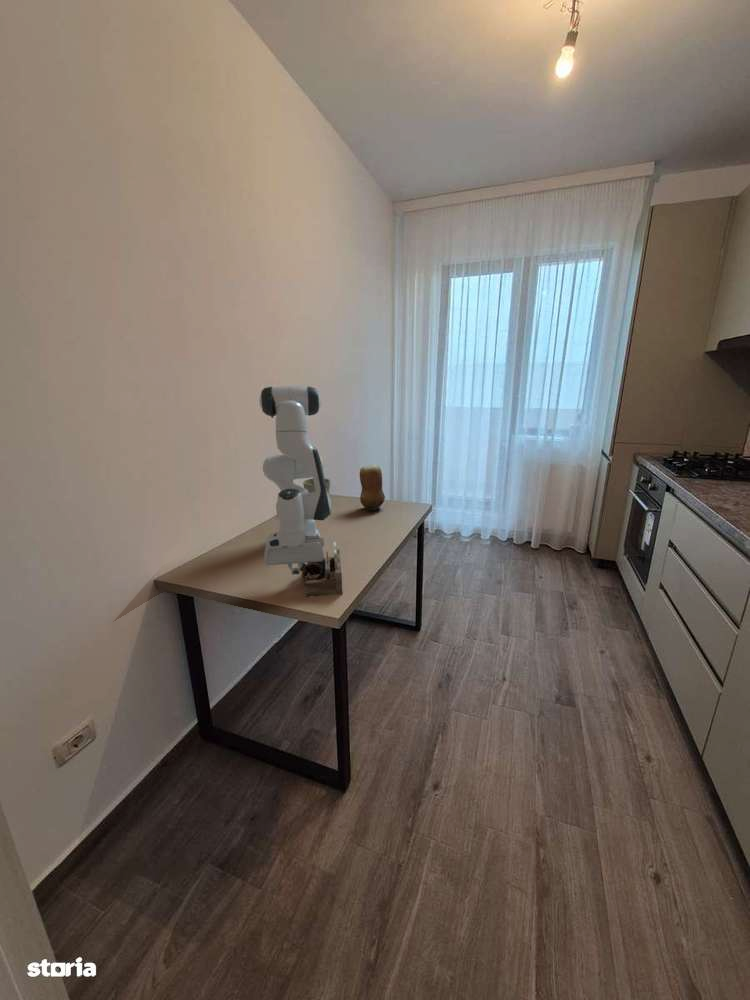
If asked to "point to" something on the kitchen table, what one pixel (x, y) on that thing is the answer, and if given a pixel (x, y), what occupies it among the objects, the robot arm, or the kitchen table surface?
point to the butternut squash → (371, 487)
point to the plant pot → (311, 487)
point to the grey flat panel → (327, 566)
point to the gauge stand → (327, 585)
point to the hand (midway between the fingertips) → (296, 573)
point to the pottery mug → (312, 571)
